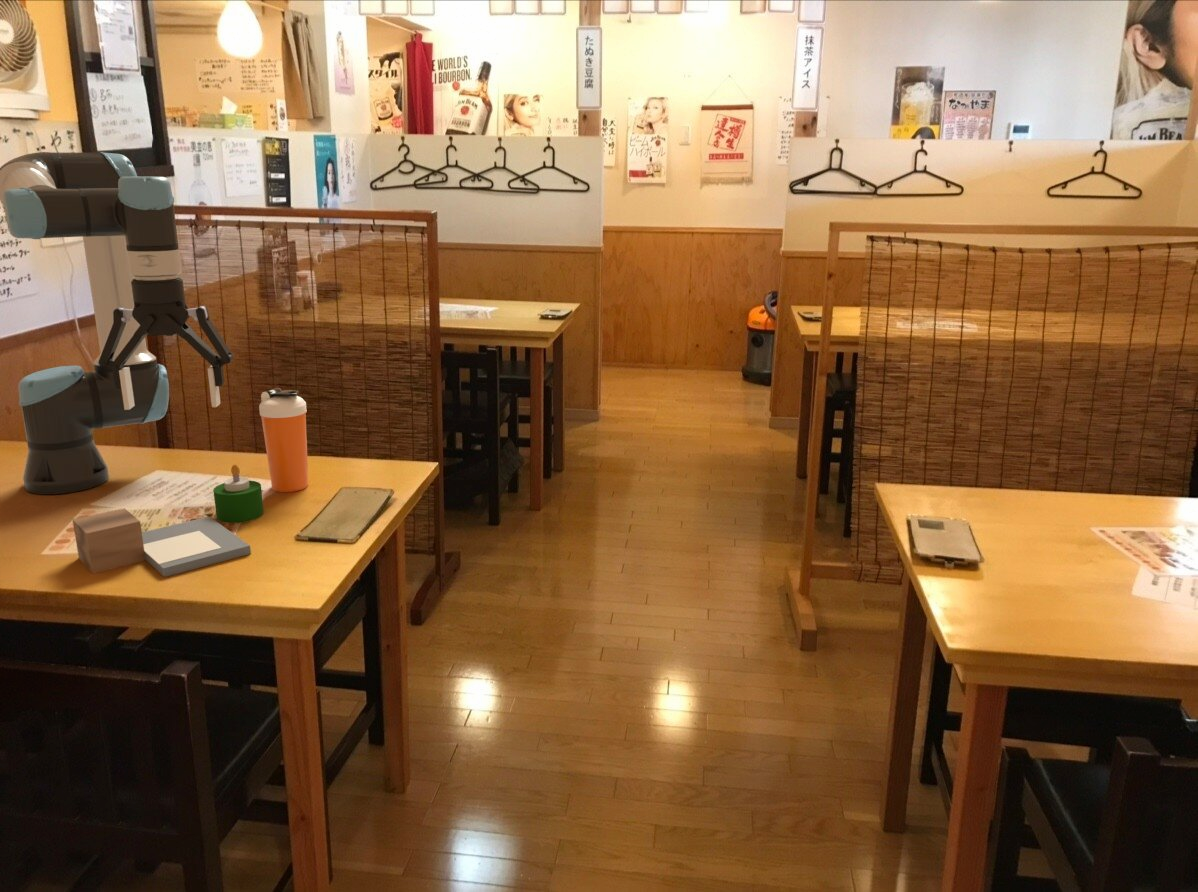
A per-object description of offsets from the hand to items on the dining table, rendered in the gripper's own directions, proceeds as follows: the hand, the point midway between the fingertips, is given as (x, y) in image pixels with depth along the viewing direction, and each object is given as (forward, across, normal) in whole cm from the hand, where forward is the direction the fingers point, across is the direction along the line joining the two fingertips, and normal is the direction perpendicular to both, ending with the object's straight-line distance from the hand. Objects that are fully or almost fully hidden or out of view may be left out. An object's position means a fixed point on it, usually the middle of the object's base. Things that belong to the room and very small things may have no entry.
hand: (173, 406), depth 154 cm
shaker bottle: (+24, +12, +28) cm, 39 cm away
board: (+24, 0, -3) cm, 24 cm away
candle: (+25, +6, +13) cm, 28 cm away
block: (+24, -11, -6) cm, 27 cm away
